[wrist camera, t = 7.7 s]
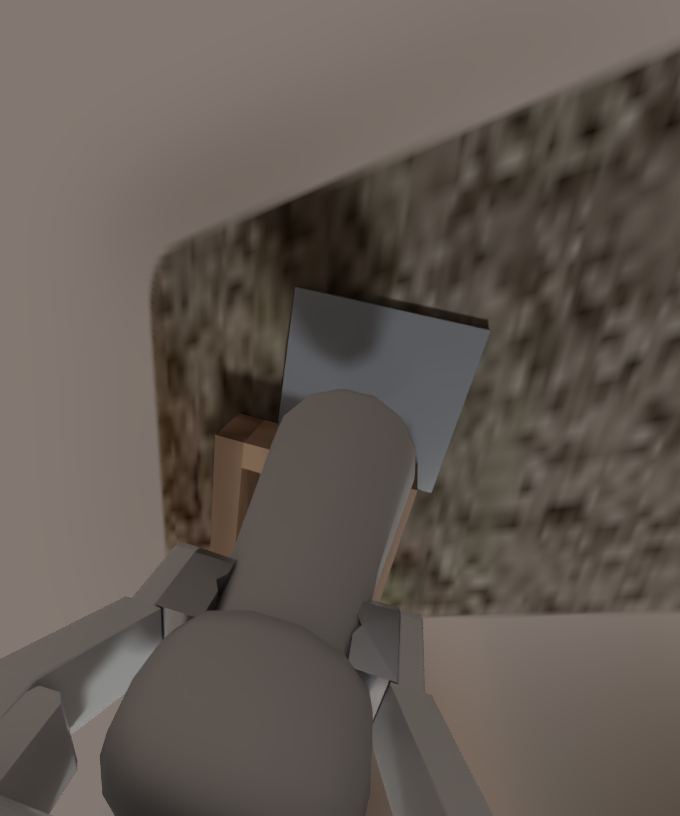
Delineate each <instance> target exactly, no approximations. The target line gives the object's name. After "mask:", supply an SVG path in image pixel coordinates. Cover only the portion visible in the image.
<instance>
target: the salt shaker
mask: <svg viewBox="0 0 680 816" xmlns="http://www.w3.org/2000/svg"><path fill="white" fill-rule="evenodd" d="M415 458H416V449H415V445H414V443H413V441H412V439H411V437H410V435H409V433H408V431H407V429H406V426H405V424H404V422H403V420H402V418H401V417H400V416H399V415H398V414H397V413H395V412H394V411H393V410H392V409H390V408H389V407H388V406H386V405H385V404H384V403H383V402H381V401H380V400H379V399H378V398H376V397H375V396H373V395H367V394H363V393H359V392H355V391H351V390H347V389H338V390H332V391H326V392H321V393H315V394H311V395H309V396H308V397H306V398H305V399H304V400H303V401H301V402H300V403H299V404H298V405H296V406H295V407H294V408H293V409H292V410H290V411H289V412H288V413H287V414H285V415H284V416H283V418H282V421H281V423H280V425H279V428H278V430H277V432H276V434H275V437H274V439H273V441H272V444H271V447H270V450H269V452H268V455H267V458H266V461H265V463H264V466H263V469H262V472H261V474H260V477H259V480H258V483H257V486H256V488H255V491H254V494H253V497H252V499H251V502H250V505H249V508H248V510H247V513H246V516H245V519H244V521H243V524H242V527H241V530H240V533H239V535H238V538H237V541H236V544H235V546H234V549H233V552H232V555H231V557H230V558H232V559H235V560H237V562H236V564H235V566H234V568H233V571H232V574H231V577H230V579H229V582H228V584H227V586H226V587H225V589H224V590H223V592H222V594H221V595H220V597H219V598H218V600H217V609H216V611H205V612H203V613H201V614H200V615H198V616H196V617H194V618H193V619H191V620H189V621H187V622H185V623H184V624H182V625H180V626H178V627H177V628H176V629H174V630H173V631H172V632H171V633H170V634H169V635H167V636H166V637H165V638H164V639H163V640H161V641H160V643H159V644H158V645H157V647H156V648H155V649H154V651H153V652H152V653H151V655H150V656H149V658H148V659H147V660H146V662H145V663H144V664H143V666H142V667H141V668H140V670H139V671H138V672H137V674H136V675H135V676H134V678H133V679H132V681H131V683H130V685H129V688H128V690H127V692H126V694H125V696H124V698H123V700H122V702H121V704H120V706H119V708H118V711H117V712H116V714H115V716H114V718H113V721H112V723H111V725H110V727H109V729H108V731H107V734H106V738H105V741H104V744H103V747H102V751H101V754H100V764H101V780H102V794H103V796H104V798H105V800H106V801H107V803H108V805H109V807H110V808H111V810H112V812H113V813H114V815H115V816H365V813H366V809H367V804H368V800H369V795H370V779H371V778H370V777H371V758H372V732H373V710H372V704H371V698H370V692H369V689H368V688H367V686H366V685H365V683H364V682H363V680H362V679H361V678H360V676H359V675H358V673H357V672H356V670H355V669H354V668H353V666H352V665H351V663H350V662H349V660H348V656H349V650H350V644H351V639H352V634H353V632H355V631H356V630H357V629H358V628H359V627H360V625H359V621H358V617H357V613H358V611H359V609H360V607H361V605H362V603H363V602H366V601H368V600H369V599H371V600H372V598H373V595H374V592H375V589H376V586H377V584H378V581H379V578H380V575H381V572H382V569H383V567H384V564H385V561H386V558H387V555H388V552H389V550H390V547H391V544H392V541H393V538H394V535H395V533H396V530H397V527H398V524H399V521H400V518H401V516H402V513H403V510H404V507H405V504H406V502H407V499H408V496H409V493H410V490H411V487H412V485H413V482H414V476H415Z"/></svg>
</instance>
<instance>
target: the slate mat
mask: <svg viewBox="0 0 680 816" xmlns="http://www.w3.org/2000/svg"><path fill="white" fill-rule="evenodd" d="M489 334H490V329H487V328H482V327H478V326H473V325H469V324H464V323H460V322H455V321H451V320H446V319H442V318H437V317H433V316H428V315H424V314H419V313H415V312H410V311H406V310H401V309H397V308H392V307H388V306H383V305H379V304H374V303H370V302H365V301H361V300H356V299H352V298H347V297H343V296H338V295H334V294H329V293H325V292H320V291H316V290H311V289H307V288H302V287H298V286H297V287H295V291H294V299H293V307H292V315H291V323H290V331H289V339H288V347H287V355H286V363H285V371H284V379H283V387H282V395H281V403H280V411H279V419H278V427H279V425H280V423H281V421H282V418H283V416H284V415H285V414H287V413H288V412H289V411H290V410H292V409H293V408H294V407H295V406H296V405H298V404H299V403H300V402H301V401H303V400H304V399H305V398H306V397H308V396H309V395H311V394H315V393H321V392H326V391H332V390H338V389H347V390H351V391H355V392H359V393H363V394H367V395H373V396H375V397H376V398H378V399H379V400H380V401H381V402H383V403H384V404H385V405H386V406H388V407H389V408H390V409H392V410H393V411H394V412H395V413H397V414H398V415H399V416H400V417H401V418H402V420H403V422H404V424H405V426H406V429H407V431H408V433H409V435H410V437H411V439H412V441H413V443H414V445H415V449H416V458H415V463H416V464H418V489H419V490H423V491H426V492H430V493H431V492H432V489H433V487H434V484H435V481H436V479H437V476H438V473H439V470H440V468H441V465H442V462H443V459H444V457H445V454H446V451H447V448H448V446H449V443H450V440H451V438H452V435H453V432H454V429H455V427H456V424H457V421H458V418H459V416H460V413H461V410H462V407H463V405H464V402H465V399H466V397H467V394H468V391H469V388H470V386H471V383H472V380H473V377H474V375H475V372H476V369H477V366H478V364H479V361H480V358H481V355H482V353H483V350H484V347H485V345H486V342H487V339H488V336H489Z"/></svg>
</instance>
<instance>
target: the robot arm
mask: <svg viewBox="0 0 680 816" xmlns="http://www.w3.org/2000/svg"><path fill="white" fill-rule="evenodd" d="M236 562H237V560H235V559H232V558H229V557H226V556H223V555H220V554H217V553H214V552H211V551H208V550H205V549H202V548H199V547H196V546H193V545H190V544H186V543H183V542H181V543H179V544H178V545H176V546H175V547H174V548H173V549H172V550H171V551H170V553H169V554H168V555H167V556H166V557H165V559H164V560H163V561H162V562H161V564H160V565H159V566H158V567H157V568H156V570H155V571H154V572H153V573H152V574H151V576H150V577H149V578H148V579H147V580H146V582H145V583H144V584H143V585H142V586H141V588H140V589H139V590H138V591H137V592H136V594H135V595H134V596H133V597H132V598H129V597H124V598H122V599H120V600H118V601H116V602H114V603H112V604H110V605H108V606H106V607H104V608H102V609H100V610H98V611H96V612H94V613H92V614H90V615H88V616H85V617H83V618H81V619H80V620H77V621H75V622H74V623H71V624H69V625H68V626H65V627H63V628H62V629H59V630H58V631H56V632H53V633H51V634H49V635H48V636H46V637H43V638H41V639H39V640H37V641H35V642H33V643H31V644H30V645H28V646H25V647H23V648H21V649H20V650H18V651H16V652H13V653H12V654H9V655H7V656H5V657H3V658H1V659H0V816H51V815H49V814H50V812H51V810H52V809H53V807H54V806H55V804H56V803H57V801H58V800H59V798H60V796H61V795H62V793H63V792H64V790H65V789H66V787H67V785H68V784H69V782H70V781H71V779H72V778H73V776H74V775H75V773H76V771H77V757H76V753H75V749H74V745H73V742H72V737H71V735H72V734H73V733H74V732H76V731H77V730H78V729H79V728H81V727H82V726H83V725H85V724H86V723H87V722H89V721H90V720H91V719H92V718H94V717H95V716H96V715H97V714H99V713H100V712H102V711H103V710H104V709H105V708H107V707H108V706H109V705H111V704H112V703H113V702H114V701H116V700H117V699H118V698H119V697H121V696H122V695H124V694H125V693H126V692H127V690H128V688H129V685H130V683H131V681H132V679H133V678H134V676H135V675H136V674H137V672H138V671H139V670H140V668H141V667H142V666H143V664H144V663H145V662H146V660H147V659H148V658H149V656H150V655H151V653H152V652H153V651H154V649H155V648H156V647H157V645H158V644H159V643H160V641H161V640H163V639H164V638H165V637H166V636H167V635H169V634H170V633H171V632H172V631H173V630H174V629H176V628H177V627H178V626H180V625H182V624H184V623H185V622H187V621H189V620H191V619H193V618H194V617H196V616H198V615H200V614H201V613H203V612H205V611H216V609H217V600H218V598H219V597H220V595H221V594H222V592H223V590H224V589H225V587H226V586H227V584H228V582H229V579H230V577H231V574H232V571H233V568H234V566H235V564H236ZM357 617H358V621H359V625H360V627H359V628H358V629H357V630H356V631H355V632H353V634H352V639H351V644H350V650H349V656H348V660H349V662H350V663H351V665H352V666H353V668H354V669H355V670H356V672H357V673H358V675H359V676H360V678H361V679H362V680H363V682H364V683H365V685H366V686H367V688H368V689H369V692H370V698H371V704H372V710H373V732H372V747H373V750H374V753H375V757H376V760H377V763H378V766H379V770H380V774H381V777H382V780H383V784H384V787H385V790H386V794H387V797H388V801H389V804H390V807H391V811H392V814H393V816H493V814H492V812H491V810H490V808H489V806H488V804H487V802H486V800H485V799H484V796H483V794H482V793H481V791H480V789H479V787H478V785H477V783H476V781H475V779H474V777H473V775H472V773H471V771H470V769H469V767H468V765H467V763H466V761H465V759H464V757H463V756H462V754H461V752H460V750H459V748H458V746H457V744H456V742H455V740H454V738H453V736H452V734H451V732H450V730H449V728H448V726H447V724H446V722H445V720H444V719H443V716H442V715H441V713H440V711H439V709H438V707H437V705H436V703H435V701H434V699H433V697H432V696H431V695H429V694H426V693H425V686H424V685H425V683H424V644H423V619H422V616H421V615H420V614H417V613H413V612H410V611H407V610H403V609H399V608H398V607H395V606H392V605H388V604H385V603H381V602H378V601H374V600H371V599H369V600H368V601H366V602H363V603H362V605H361V607H360V609H359V611H358V613H357Z"/></svg>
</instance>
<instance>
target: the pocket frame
mask: <svg viewBox="0 0 680 816" xmlns="http://www.w3.org/2000/svg"><path fill="white" fill-rule="evenodd" d="M278 428H279V427H278V423H275V422H271V421H267V420H263V419H260V418H256V417H252V416H248V415H245V414H241V413H239V414H238V415H237V416H235V417H234V418H233V419H232V420H231V421H230V422H229V423H228V424H227V425H225V426H224V427H223V428H222V429H221V430H220V431H219V432H218V433H217V434H215V449H214V474H213V498H212V523H211V547H210V551H211V552H214V553H217V554H220V555H223V556H226V557H229V558H230V557H231V555H232V552H233V549H234V546H235V544H236V541H237V538H238V535H239V533H240V530H241V527H242V524H243V521H244V519H245V516H246V513H247V510H248V508H249V505H250V502H251V499H252V497H253V494H254V491H255V488H256V486H257V483H258V478H259V473H261V472H262V469H263V466H264V463H265V461H266V458H267V455H268V452H269V450H270V447H271V444H272V441H273V439H274V437H275V434H276V432H277V430H278ZM417 490H418V464H416V463H415V476H414V482H413V485H412V487H411V490H410V493H409V496H408V499H407V502H406V504H405V507H404V510H403V513H402V516H401V518H400V521H399V524H398V527H397V530H396V533H395V535H394V538H393V541H392V544H391V547H390V550H389V552H388V555H387V558H386V561H385V564H384V567H383V569H382V572H381V575H380V578H379V581H378V584H377V586H376V589H375V592H374V595H373V598H372V600H374V601H378V602H379V601H380V598H381V595H382V592H383V589H384V586H385V583H386V581H387V578H388V575H389V572H390V569H391V566H392V563H393V560H394V557H395V554H396V551H397V549H398V546H399V543H400V540H401V537H402V534H403V531H404V528H405V525H406V522H407V519H408V517H409V514H410V511H411V508H412V505H413V502H414V499H415V496H416V493H417Z"/></svg>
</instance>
